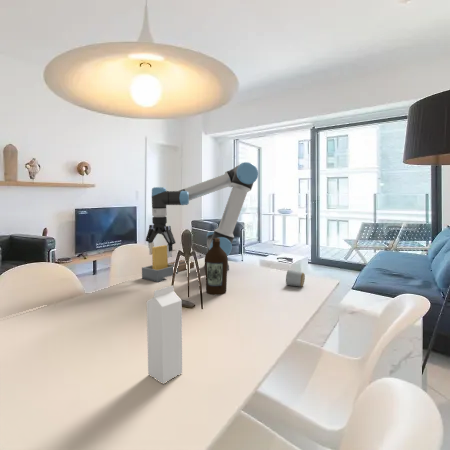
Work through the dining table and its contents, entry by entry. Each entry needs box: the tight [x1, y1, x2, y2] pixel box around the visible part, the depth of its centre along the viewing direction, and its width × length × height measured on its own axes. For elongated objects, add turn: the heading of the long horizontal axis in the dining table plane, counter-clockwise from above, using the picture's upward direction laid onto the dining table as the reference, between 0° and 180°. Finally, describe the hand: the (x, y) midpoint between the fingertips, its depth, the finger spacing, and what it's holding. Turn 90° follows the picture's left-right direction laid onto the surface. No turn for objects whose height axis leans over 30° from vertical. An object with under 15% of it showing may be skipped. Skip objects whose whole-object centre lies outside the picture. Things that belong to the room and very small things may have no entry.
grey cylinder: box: [285, 269, 306, 287], centre depth 152 cm, size 11×8×8 cm
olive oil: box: [204, 238, 229, 296], centre depth 139 cm, size 11×11×25 cm
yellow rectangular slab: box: [151, 244, 169, 270], centre depth 164 cm, size 2×9×16 cm, turn 146°
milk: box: [146, 285, 183, 383], centre depth 74 cm, size 6×6×22 cm
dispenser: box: [168, 259, 195, 273], centre depth 178 cm, size 10×14×6 cm
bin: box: [141, 264, 179, 283], centre depth 164 cm, size 12×15×6 cm
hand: (160, 255), depth 164 cm, fingers open, 13 cm apart
